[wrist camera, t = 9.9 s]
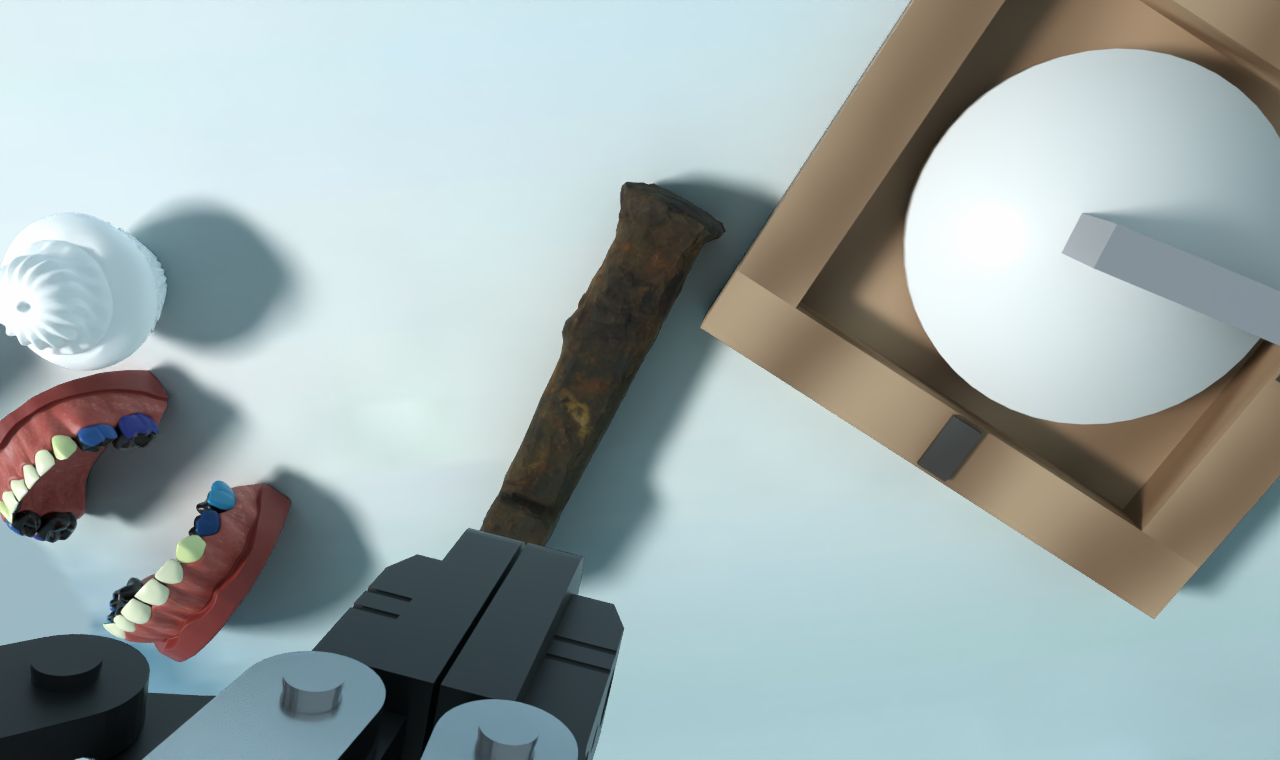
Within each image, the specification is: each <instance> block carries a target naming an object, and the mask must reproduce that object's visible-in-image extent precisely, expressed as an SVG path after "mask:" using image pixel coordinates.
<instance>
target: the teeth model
mask: <svg viewBox="0 0 1280 760" xmlns="http://www.w3.org/2000/svg"><path fill="white" fill-rule="evenodd" d="M168 398H169V396H168V395H167V393H166V391H165V390H164V388H163V387H162V385H161V384H160V382H159V381H158V379H157V378H156V377H155V376H154V375H153V374H152V373H151V372H150V371H147V370H124V371H112V372H104V373H99V374H94V375H91V376H87V377H83V378H79V379H76V380H72V381H69V382H66V383H63V384H60V385H58V386H55V387H53V388H51V389H49V390H47V391H44V392H42V393H40V394H38V395H36V396H34V397H33V398H31V399H30V400H28V401H27V402H26V403H25V404H23V405H22V406H20V407H19V408H18V409H16V410H15V411H13V412H12V413H10V414H9V415H7V416H6V417H5V418H4V419H2V420H1V421H0V513H1V517H2V519H3V521H4V522H5V523H7V525H8V527H9V528H10V529H11V530H13V531H14V532H15V533H17V534H19V535H21V536H28V537H33V538H35V539H37V540H40V541H48V542H51V543H54V542H56V541H57V540H65V539H67V538H68V537H69V536H70V535H71V534H72V533H73V531H74V530H75V528H76V526H77V519H79V518H80V517H81V516H83V514H84V513H85V508H86V500H85V489H86V482H87V478H88V474H89V472H90V469H91V467H92V466H93V464H94V463H95V461H96V460H97V458H98V457H99V456H100V454H101V453H102V452H103V451H104V449H105V448H106V447H107V446H108V445H109V444H110V443H111V442H112V444H113V446H114V447H115V448H116V449H119V450H132V449H135V448H136V447H141V448H144V447H146V446H147V445H148V444H149V443H150V442H151V441H152V440H153V439H154V438H155V437H156V436H157V435H158V433H159V429H158V425H159V422H160V420H161V418H162V416H163V414H164V412H165V410H166V408H167V402H166V400H167V399H168ZM211 490H212V491H210V492H209V493H208V496H207V499H206V501H205V502H202V503H199V504H197V506H196V509H197V511H198V512H199V513H200V514H201V515H199V516H197V517H196V518H195V520H194V527H193V528H191V529H190V530H189V535H190V536H188V537H186V538H184V539H182V540H181V541H180V542H179V543H178V544H177V549H176V558H177V560H178V561H179V562H180V563H179V562H178V561H176V560H174V559H170V560H168V561H167V562H166V563H165V564H164V565H163V566H162V567H161V568H160V569H159V570H158V571H157V573H156V574H154V575H151V576H149V577H146V578H145V579H143V580H142V581H140V580H139V579H137V578H130V579H129V581H128V583H127V585H126V586H125V587H123V588H121V589H119V590H117V591H115V592H114V593H113V599H112V600H111V601H110V610H111V611H113V612H111V614H110V615H108V616H107V621H108V623H104V624H103V625H104V627H105V628H106V629H107V630H108V631H109V632H110V633H111V634H113V635H115V636H117V637H119V638H124V639H125V640H127V641H131V642H139V643H154V644H155V646H156V648H157V649H158V651H159V652H160V653H161V654H163V655H165V656H167V657H169V658H171V659H173V660H175V661H177V662H182V661H185V660H187V659H189V658H191V657H192V656H194V655H196V654H197V653H198V652H199V651H200V650H201V649H203V648H204V647H205V646H206V645H207V644H208V643H209V642H210V641H211V640H212V639H213V638H214V636H215V635H216V634H217V633H218V632H219V631H220V630H221V628H222V627H223V626H224V625H225V624H226V622H227V621H228V620H229V618H230V617H231V616H232V614H233V613H234V612H235V610H236V609H237V608H238V606H239V605H240V603H241V602H242V601H243V599H244V598H245V596H246V595H247V594H248V592H249V591H250V589H251V587H252V586H253V584H254V582H255V581H256V579H257V577H258V576H259V574H260V572H261V570H262V569H263V567H264V566H265V564H266V562H267V560H268V558H269V556H270V554H271V552H272V550H273V548H274V546H275V544H276V541H277V539H278V537H279V535H280V532H281V530H282V528H283V525H284V523H285V520H286V517H287V514H288V511H289V508H290V505H291V500H290V499H289V498H288V497H286V496H285V495H283V494H281V493H280V492H278V491H276V490H275V489H273V488H271V487H270V486H268V485H266V484H255V485H246V486H238V487H234V488H230V487H229V486H228V485H227V484H226V483H224V482H222V481H216V482H214V483H213V485H212V488H211Z"/></svg>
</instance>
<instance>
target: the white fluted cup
mask: <svg viewBox="0 0 1280 760" xmlns="http://www.w3.org/2000/svg"><path fill="white" fill-rule="evenodd" d="M164 272H165V271H164V270H163V269H162V268H161V263H160V262H158V261H157V257H156V256H155V255H154V254H152V252H151V251H150V250H149V249H147V248H146V247H145V246H144V245H143V244H142V243H140V242H139V241H138V240H137V239H136V238H134V237H133V236H130V235H129V234H128V233H127V232H125V231H124V230H123V229H122V228H118V229H117V228H116V227H114V226H113V225H112V224H110V223H109V222H105V221H103V220H101V219H99V218H96V217H94V216H91V215H87V214H82V213H62V214H56V215H52V216H49V217H46V218H43V219H41V220H38V221H36V222H34V223H33V224H31V225H29V226H28V227H27V228H25V229H24V230H23V231H22V232H21V233H20V234H19V235H18V236H17V237H16V238H15V240H14V241H13V243H12V244H11V246H10V248H9V249H8V251H7V253H6V255H5V258H4V260H3V263H2V267H1V268H0V324H3V325H5V327H6V334H7V335H8V336H17V338H18V340H19V342H20V344H21V345H23V346H28V347H29V348H30V349H31V350H33V351H34V352H35V353H36V354H38V355H39V356H41V357H42V358H44V359H46V360H47V361H49V362H51V363H54V364H56V365H58V366H61V367H64V368H68V369H73V370H80V371H89V370H97V369H101V368H105V367H108V366H111V365H114V364H116V363H118V362H120V361H122V360H124V359H125V358H127V357H129V356H130V355H131V354H133V353H134V352H135V351H136V350H137V349H138V348H139V347H140V346H141V345H142V344H143V343H144V341H146V339H147V337H148V335H149V333H150V332H153V331H154V328H155V325H156V322H157V321H158V320H159V318H160V314H161V311H162V308H163V305H164V301H165V296H166V293H167V290H166V288H167V284H166V282H165V281H166V279H167V278H166V277H165V275H164Z"/></svg>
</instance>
